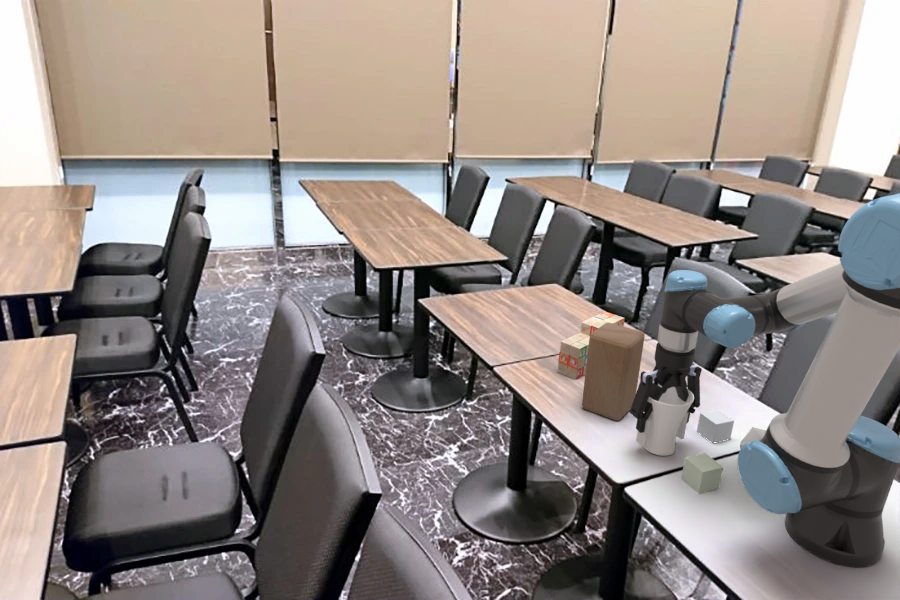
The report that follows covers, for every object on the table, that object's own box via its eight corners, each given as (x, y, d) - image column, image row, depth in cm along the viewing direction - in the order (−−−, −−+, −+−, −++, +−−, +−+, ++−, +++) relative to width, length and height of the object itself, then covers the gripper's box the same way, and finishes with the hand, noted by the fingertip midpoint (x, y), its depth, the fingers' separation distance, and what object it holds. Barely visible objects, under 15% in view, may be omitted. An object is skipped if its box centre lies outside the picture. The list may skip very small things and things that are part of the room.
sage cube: (718, 488, 125) (723, 467, 123) (698, 493, 123) (702, 472, 121) (701, 473, 129) (705, 453, 128) (681, 478, 128) (685, 457, 126)
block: (618, 423, 146) (630, 345, 139) (579, 409, 152) (588, 333, 145) (635, 406, 154) (646, 331, 147) (597, 393, 159) (606, 320, 152)
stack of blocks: (576, 380, 166) (580, 338, 161) (556, 372, 170) (560, 330, 165) (619, 357, 180) (625, 317, 175) (601, 349, 184) (605, 310, 180)
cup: (656, 466, 131) (666, 409, 126) (623, 439, 140) (631, 385, 135) (694, 455, 135) (705, 399, 130) (660, 430, 144) (669, 377, 139)
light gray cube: (730, 440, 141) (734, 420, 140) (712, 443, 140) (716, 424, 138) (714, 428, 146) (717, 409, 144) (696, 432, 144) (700, 412, 142)
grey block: (760, 485, 127) (797, 453, 125) (726, 452, 130) (762, 420, 128) (761, 477, 135) (796, 447, 132) (729, 446, 138) (762, 416, 135)
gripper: (705, 331, 136) (688, 422, 144) (620, 344, 128) (607, 439, 136) (731, 345, 129) (712, 440, 137) (643, 360, 122) (628, 458, 130)
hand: (660, 439), depth 137 cm, fingers closed on cup, 9 cm apart
